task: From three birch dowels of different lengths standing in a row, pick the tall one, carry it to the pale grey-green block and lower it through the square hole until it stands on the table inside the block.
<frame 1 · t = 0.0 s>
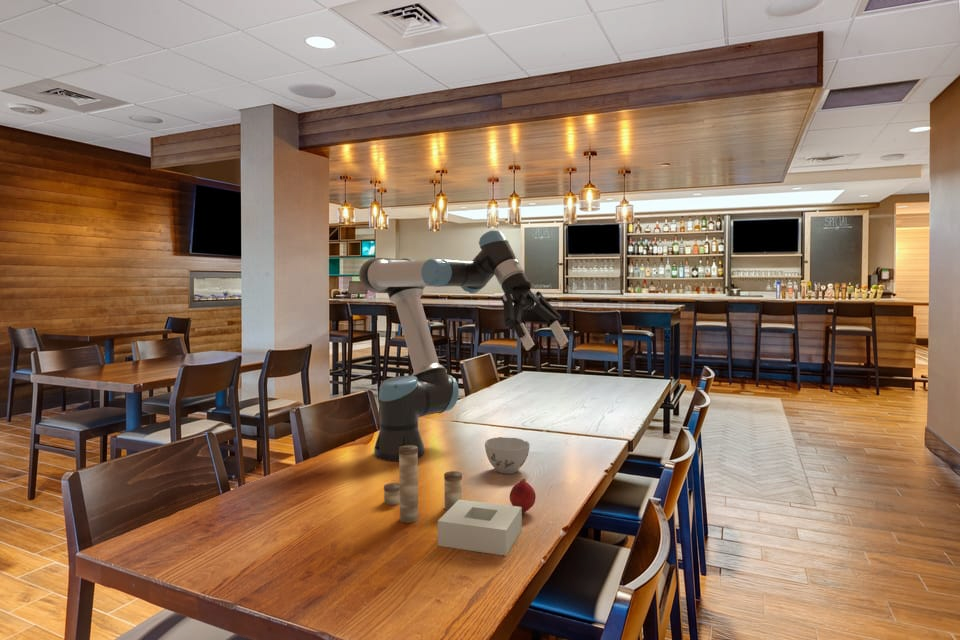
hand: (548, 345, 147), 36 cm above the table, tool tilted 35°, fingers open, 13 cm apart
short dowel: (392, 502, 135), on the table
onion: (522, 513, 128), on the table
hole block: (481, 537, 116), on the table
medium dowel: (453, 508, 131), on the table
long dowel: (409, 519, 125), on the table
teacup: (509, 470, 159), on the table
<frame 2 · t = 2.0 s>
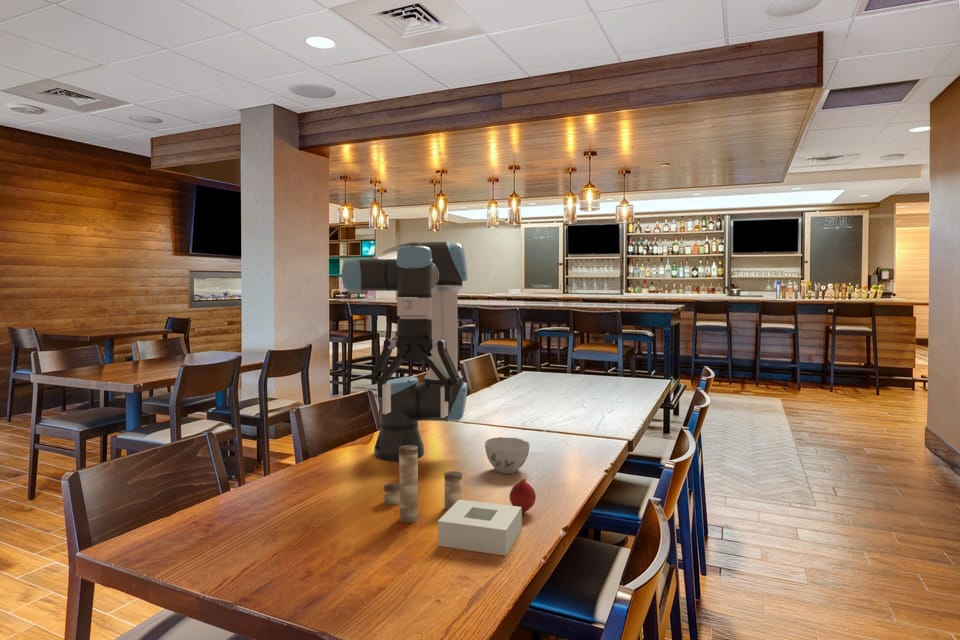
hand: (415, 414, 124), 23 cm above the table, tool pointing down, fingers open, 13 cm apart
nothing on the table moved.
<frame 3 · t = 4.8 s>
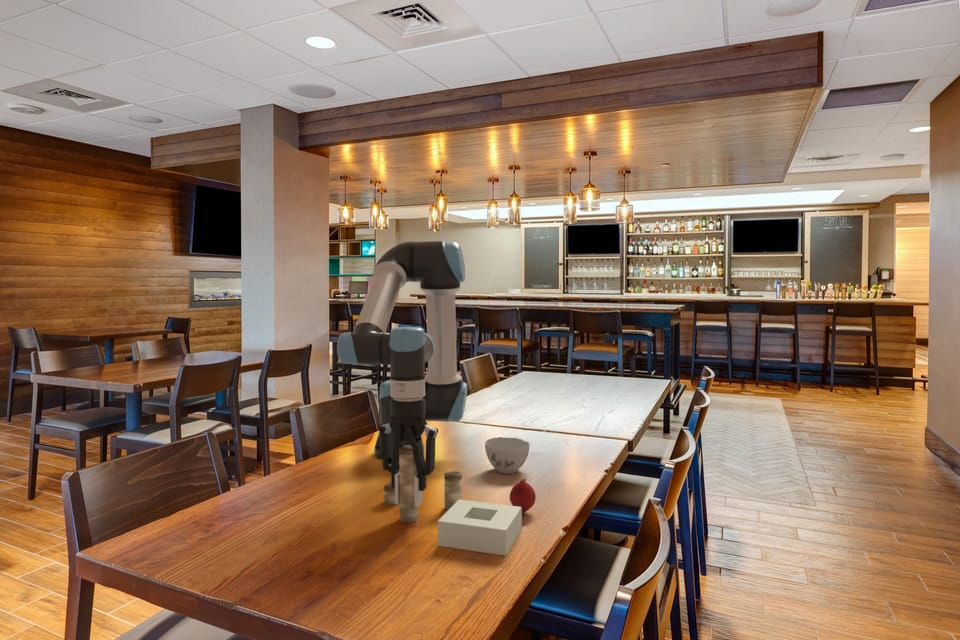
hand: (408, 503, 125), 4 cm above the table, tool pointing down, fingers closed on long dowel, 4 cm apart
long dowel: (409, 519, 125), on the table, touching gripper
everything else where it was.
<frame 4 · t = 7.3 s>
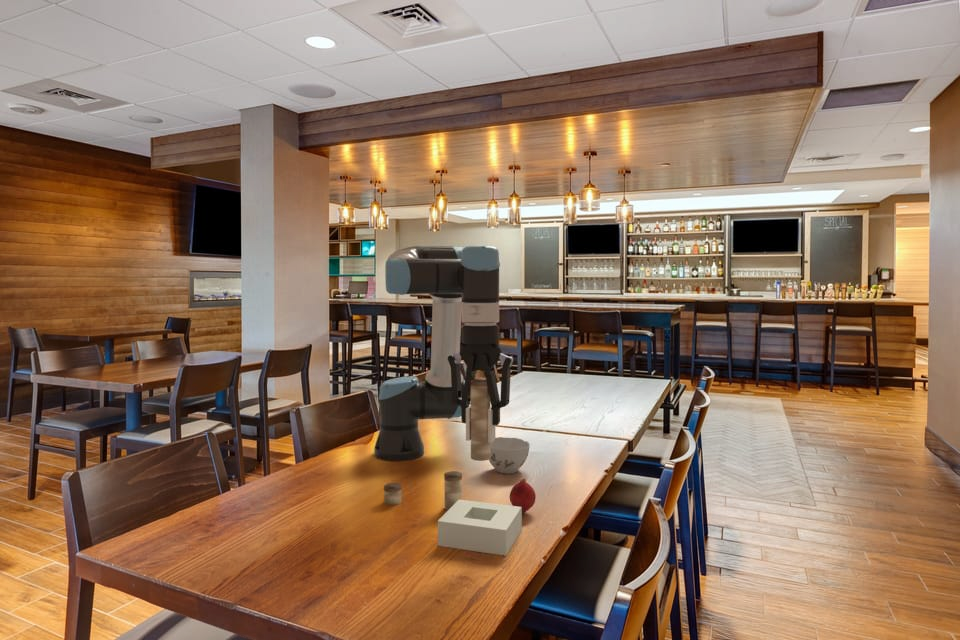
hand: (480, 439, 114), 20 cm above the table, tool pointing down, fingers closed on long dowel, 4 cm apart
long dowel: (480, 457, 115), point 17 cm above the table, touching gripper
everything else where it was.
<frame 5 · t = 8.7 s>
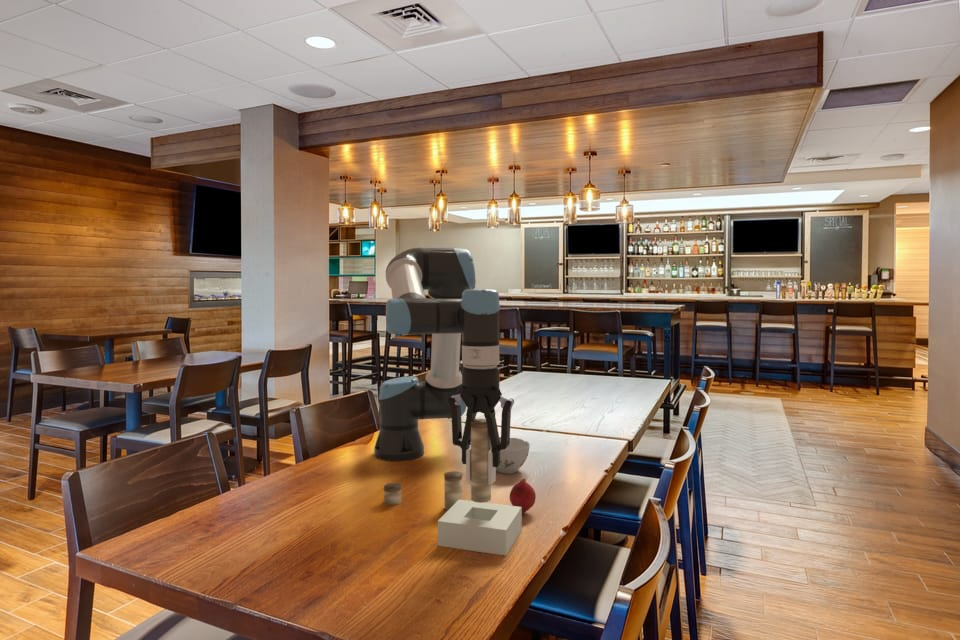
hand: (481, 480, 115), 12 cm above the table, tool pointing down, fingers closed on long dowel, 4 cm apart
long dowel: (480, 498, 115), point 8 cm above the table, touching gripper
everything else where it was.
when the fingers open (7 cm above the table, at t = 9.9 s): long dowel drops 3 cm, resting in hole block.
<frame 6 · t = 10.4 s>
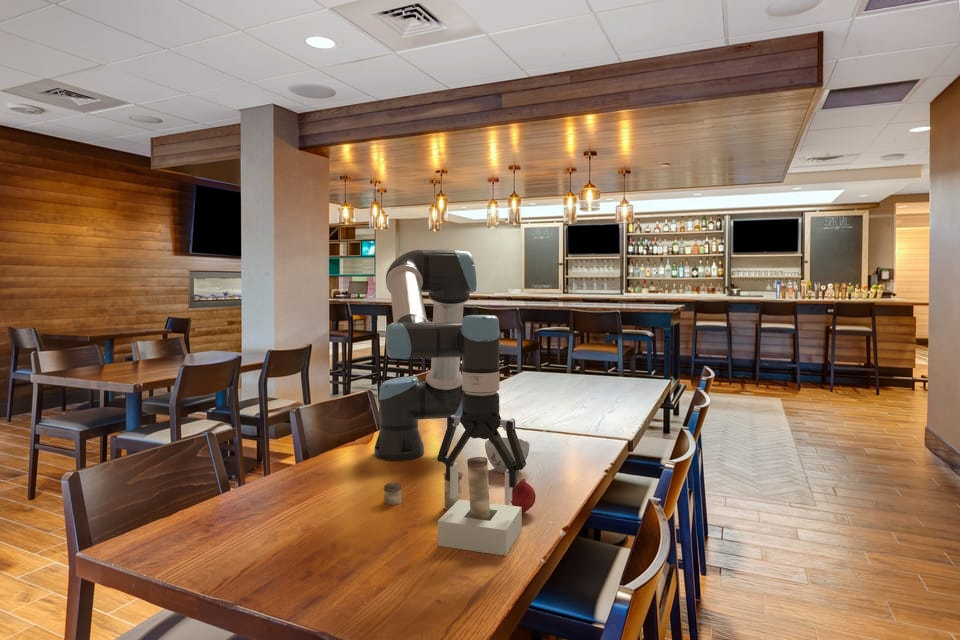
hand: (480, 499, 115), 8 cm above the table, tool pointing down, fingers open, 11 cm apart
long dowel: (481, 537, 116), resting in hole block
everything else where it was.
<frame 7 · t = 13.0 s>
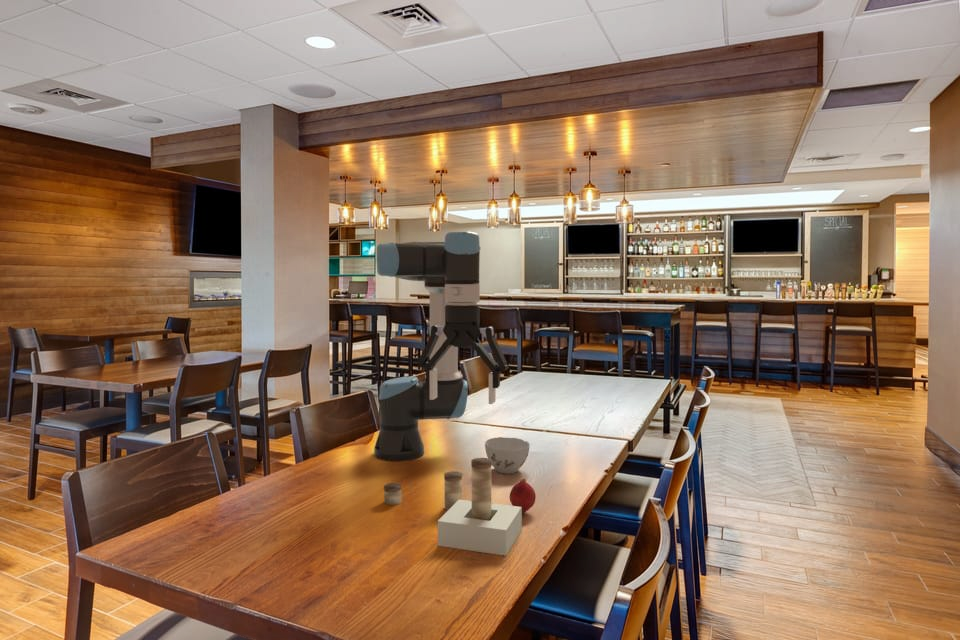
hand: (462, 400, 124), 26 cm above the table, tool pointing down, fingers open, 13 cm apart
nothing on the table moved.
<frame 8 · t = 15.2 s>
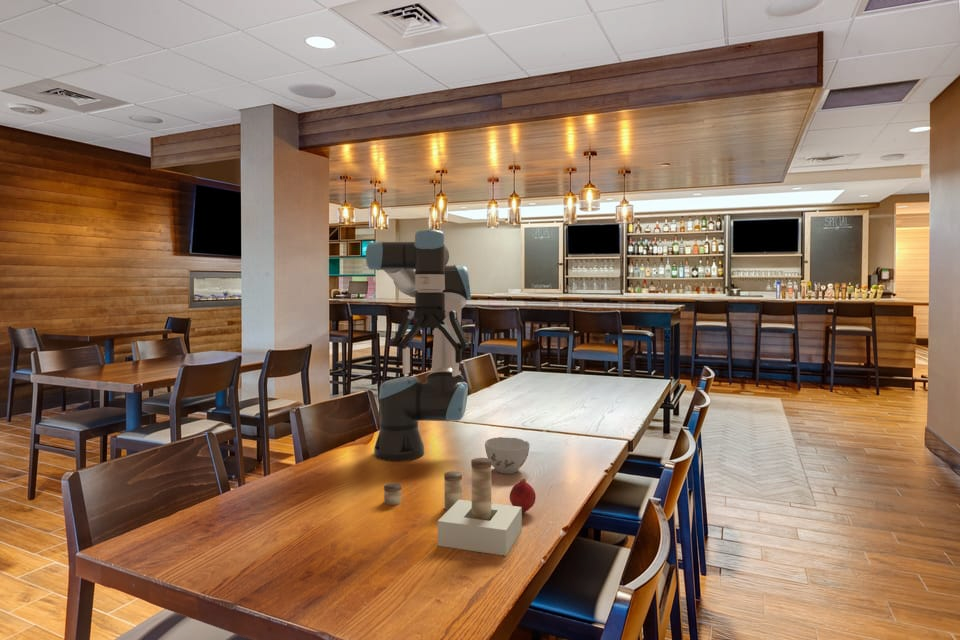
hand: (430, 374, 146), 29 cm above the table, tool pointing down, fingers open, 13 cm apart
nothing on the table moved.
at the end: long dowel 0.1 cm off-centre on the hole block, point 0.0 cm above the hole block's base; long dowel tilted 0°; the gripper is holding nothing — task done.
